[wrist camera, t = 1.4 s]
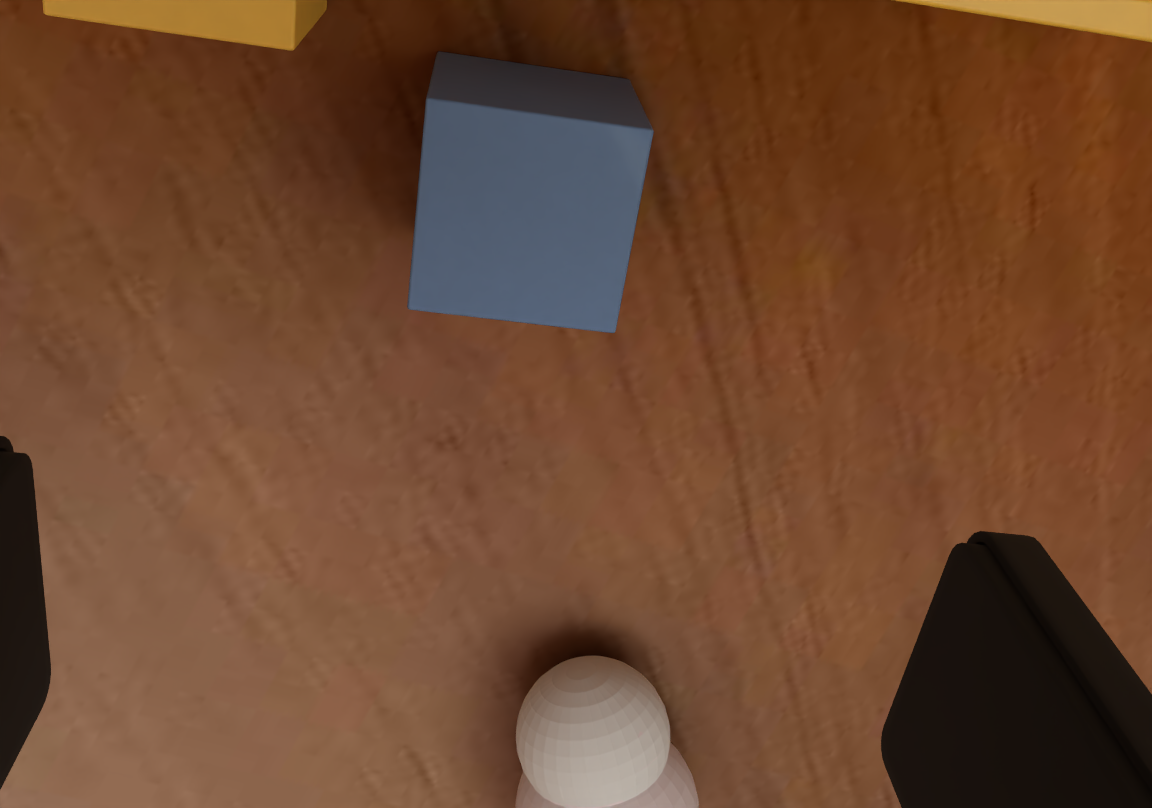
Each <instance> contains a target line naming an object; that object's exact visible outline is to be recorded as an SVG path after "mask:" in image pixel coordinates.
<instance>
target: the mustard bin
mask: <svg viewBox="0 0 1152 808" xmlns="http://www.w3.org/2000/svg"><path fill="white" fill-rule="evenodd" d="M894 1H900V2H906V3H913V4H919V5H925V6H931V7H937V8H944V9H950V10H956V11H962V12H968V13H975V14H981V15H987V16H993V17H999V18H1005V19H1012V20H1018V21H1024V22H1030V23H1036V24H1043V25H1049V26H1055V27H1061V28H1067V29H1073V30H1080V31H1086V32H1092V33H1098V34H1104V35H1111V36H1117V37H1123V38H1129V39H1135V40H1141V41H1148V42H1152V0H894Z"/></svg>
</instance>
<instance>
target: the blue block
mask: <svg viewBox="0 0 1152 808" xmlns="http://www.w3.org/2000/svg"><path fill="white" fill-rule="evenodd" d="M652 137H653V128H652V126H651V124H650V122H649V120H648V118H647V116H646V114H645V112H644V110H643V107H642V105H641V103H640V101H639V99H638V97H637V95H636V93H635V91H634V89H633V86H632V84H631V82H630V80H629V79H624V78H617V77H610V76H603V75H596V74H590V73H583V72H576V71H569V70H562V69H556V68H549V67H542V66H535V65H528V64H522V63H515V62H508V61H501V60H494V59H487V58H481V57H474V56H467V55H460V54H453V53H447V52H440V51H439V52H437V55H436V59H435V63H434V68H433V72H432V76H431V80H430V85H429V89H428V93H427V97H426V105H425V116H424V127H423V138H422V149H421V160H420V171H419V183H418V194H417V205H416V216H415V227H414V238H413V249H412V260H411V271H410V283H409V294H408V305H407V307H408V309H410V310H418V311H427V312H436V313H444V314H453V315H462V316H470V317H479V318H488V319H496V320H505V321H513V322H522V323H531V324H539V325H548V326H557V327H565V328H574V329H583V330H591V331H600V332H609V333H615V331H616V326H617V321H618V315H619V310H620V305H621V300H622V294H623V289H624V284H625V279H626V273H627V268H628V263H629V258H630V252H631V247H632V242H633V237H634V231H635V226H636V221H637V216H638V211H639V205H640V200H641V195H642V190H643V184H644V179H645V174H646V169H647V163H648V158H649V153H650V148H651V142H652Z"/></svg>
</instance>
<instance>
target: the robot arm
mask: <svg viewBox="0 0 1152 808" xmlns="http://www.w3.org/2000/svg"><path fill="white" fill-rule="evenodd" d="M50 676H51V663H50V652H49V641H48V630H47V619H46V608H45V598H44V587H43V576H42V565H41V554H40V543H39V533H38V522H37V511H36V500H35V489H34V479H33V468H32V463H31V460H30V458H29V456H28V455H27V454H25V453H15V452H14V451H13V447H12V445H11V442H10V440H9V439H7V438H6V437H5V436H0V789H1V787H2V785H3V783H4V781H5V779H6V777H7V775H8V774H9V772H10V770H11V768H12V766H13V764H14V762H15V760H16V758H17V756H18V754H19V752H20V750H21V748H22V746H23V744H24V742H25V740H26V738H27V737H28V735H29V733H30V731H31V729H32V727H33V725H34V723H35V721H36V719H37V717H38V715H39V713H40V711H41V709H42V707H43V705H44V702H45V700H46V697H47V693H48V689H49V684H50ZM881 751H882V758H883V761H884V765H885V767H886V770H887V772H888V775H889V777H890V780H891V782H892V785H893V787H894V790H895V792H896V795H897V797H898V799H899V802H900V804H901V807H902V808H1152V694H1151V693H1150V692H1149V690H1148V689H1147V687H1146V686H1145V685H1144V683H1143V682H1142V681H1141V679H1140V678H1139V677H1138V675H1137V674H1136V673H1135V671H1134V670H1133V669H1132V667H1131V666H1130V664H1129V663H1128V662H1127V660H1126V659H1125V658H1124V656H1123V655H1122V654H1121V652H1120V651H1119V650H1118V648H1117V647H1116V645H1115V644H1114V643H1113V641H1112V640H1111V639H1110V637H1109V636H1108V635H1107V633H1106V632H1105V631H1104V629H1103V628H1102V627H1101V625H1100V624H1099V622H1098V621H1097V620H1096V618H1095V617H1094V616H1093V614H1092V613H1091V612H1090V610H1089V609H1088V608H1087V606H1086V605H1085V603H1084V602H1083V601H1082V599H1081V598H1080V597H1079V595H1078V594H1077V593H1076V591H1075V590H1074V589H1073V587H1072V586H1071V585H1070V583H1069V582H1068V580H1067V579H1066V578H1065V576H1064V575H1063V574H1062V572H1061V571H1060V570H1059V568H1058V567H1057V566H1056V564H1055V563H1054V562H1053V560H1052V559H1051V557H1050V556H1049V555H1048V553H1047V552H1046V551H1045V549H1044V548H1043V547H1042V545H1041V544H1040V543H1039V542H1038V541H1037V540H1036V539H1035V538H1034V537H1030V536H1025V535H1015V534H1005V533H995V532H984V531H979V532H977V533H974V534H973V535H972V536H971V537H970V538H969V539H968V541H967V543H960V544H957V545H956V546H955V547H954V548H953V549H952V551H951V553H950V555H949V558H948V560H947V563H946V565H945V568H944V571H943V573H942V576H941V578H940V581H939V584H938V586H937V589H936V591H935V594H934V597H933V599H932V602H931V605H930V607H929V610H928V612H927V615H926V618H925V620H924V623H923V625H922V628H921V631H920V633H919V636H918V638H917V641H916V644H915V646H914V649H913V651H912V654H911V657H910V659H909V662H908V664H907V667H906V670H905V672H904V675H903V677H902V680H901V683H900V685H899V688H898V691H897V693H896V696H895V698H894V701H893V704H892V706H891V709H890V711H889V714H888V717H887V719H886V722H885V724H884V728H883V731H882V738H881Z"/></svg>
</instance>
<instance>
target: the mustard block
mask: <svg viewBox="0 0 1152 808" xmlns="http://www.w3.org/2000/svg"><path fill="white" fill-rule="evenodd" d="M326 9H327V0H43V11H44V14H46V15H48V16H55V17H62V18H69V19H76V20H82V21H89V22H96V23H103V24H110V25H117V26H124V27H131V28H138V29H145V30H152V31H159V32H166V33H173V34H179V35H186V36H193V37H200V38H207V39H214V40H221V41H228V42H235V43H242V44H249V45H256V46H263V47H269V48H276V49H283V50H290V51H292V50H294V49H295V48H296V47H297V46H298V44H299V43H300V42H301V41H302V39H303V38H304V37H305V36H306V35H307V33H308V32H309V31H310V30H311V28H312V27H313V26H314V25H315V23H316V22H317V21H318V20H319V18H320V17H321V16H322V15H323V13H324V12H325V11H326Z"/></svg>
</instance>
